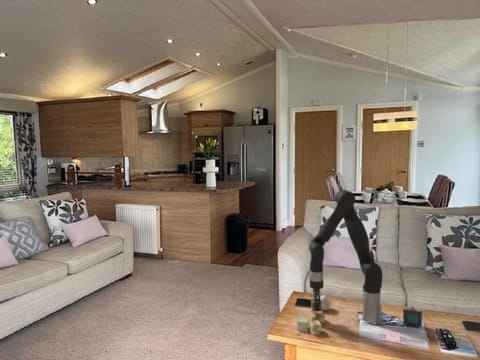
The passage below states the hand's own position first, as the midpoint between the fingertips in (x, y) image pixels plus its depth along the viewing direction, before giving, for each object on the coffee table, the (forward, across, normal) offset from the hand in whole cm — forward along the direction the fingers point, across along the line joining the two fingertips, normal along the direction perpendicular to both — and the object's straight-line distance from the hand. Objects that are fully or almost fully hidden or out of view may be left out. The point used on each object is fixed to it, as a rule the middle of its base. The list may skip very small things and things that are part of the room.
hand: (316, 308), depth 201 cm
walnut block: (0, 0, 0) cm, 0 cm away
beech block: (+8, -11, +2) cm, 14 cm away
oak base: (+8, 0, 0) cm, 8 cm away
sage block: (+8, -8, +8) cm, 14 cm away
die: (+8, +16, -5) cm, 19 cm away
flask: (+8, -2, -50) cm, 51 cm away
